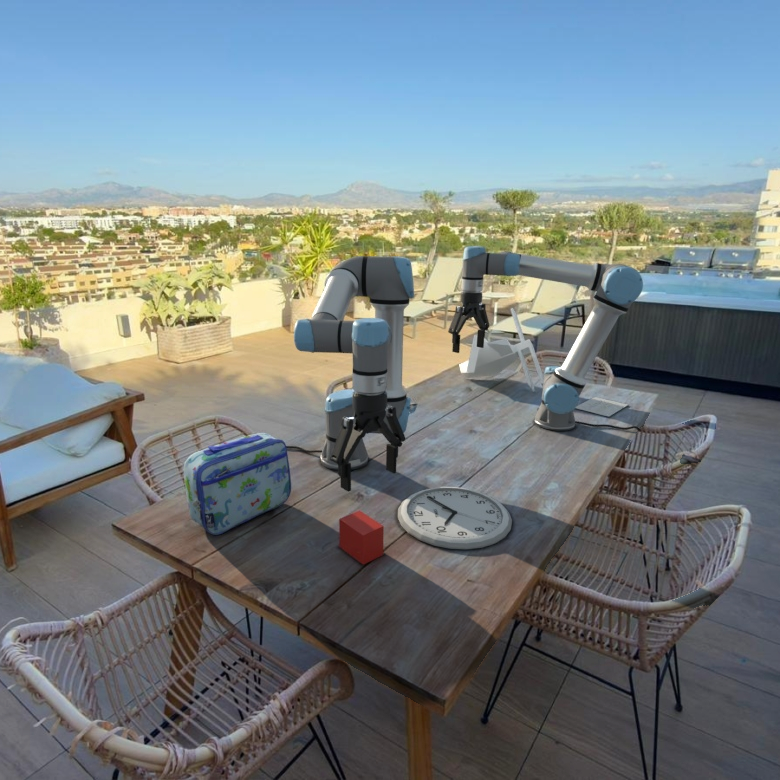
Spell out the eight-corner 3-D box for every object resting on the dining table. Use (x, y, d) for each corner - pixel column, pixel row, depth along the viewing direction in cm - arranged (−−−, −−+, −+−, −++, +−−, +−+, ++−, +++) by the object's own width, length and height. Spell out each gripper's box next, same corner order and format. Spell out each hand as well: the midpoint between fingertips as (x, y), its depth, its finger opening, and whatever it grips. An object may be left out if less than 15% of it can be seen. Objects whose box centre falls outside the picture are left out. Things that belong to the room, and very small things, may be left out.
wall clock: (528, 541, 125) (404, 545, 122) (528, 547, 125) (404, 551, 123) (494, 482, 153) (392, 485, 151) (494, 487, 154) (392, 490, 151)
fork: (400, 412, 215) (400, 407, 215) (412, 400, 229) (412, 396, 229) (406, 412, 214) (406, 408, 214) (418, 401, 229) (418, 397, 228)
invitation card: (608, 416, 214) (573, 407, 224) (608, 416, 214) (573, 408, 224) (628, 404, 229) (594, 396, 238) (628, 405, 229) (594, 397, 238)
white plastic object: (480, 420, 263) (459, 397, 239) (461, 347, 286) (440, 319, 261) (551, 396, 251) (537, 369, 226) (526, 322, 273) (511, 290, 249)
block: (339, 547, 124) (339, 518, 122) (359, 537, 128) (359, 510, 126) (363, 565, 118) (363, 535, 116) (383, 554, 122) (383, 525, 119)
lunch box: (204, 544, 124) (196, 463, 118) (184, 526, 131) (176, 449, 125) (295, 506, 142) (292, 434, 136) (274, 491, 149) (270, 423, 143)
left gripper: (334, 406, 102) (335, 503, 108) (422, 384, 119) (419, 469, 125) (312, 398, 108) (314, 490, 114) (399, 377, 124) (397, 459, 130)
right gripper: (456, 295, 175) (452, 356, 182) (501, 290, 191) (497, 346, 198) (440, 292, 181) (437, 352, 187) (485, 288, 197) (481, 343, 203)
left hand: (369, 479), depth 119 cm, fingers open, 13 cm apart
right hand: (468, 349), depth 192 cm, fingers open, 13 cm apart
